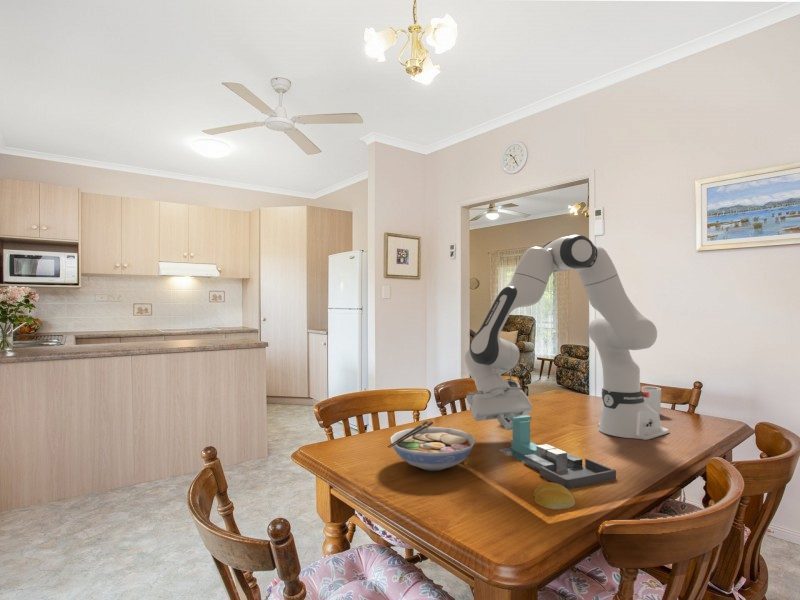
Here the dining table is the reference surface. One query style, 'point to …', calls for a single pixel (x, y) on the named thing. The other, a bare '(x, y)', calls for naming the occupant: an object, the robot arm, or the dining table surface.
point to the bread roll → (553, 496)
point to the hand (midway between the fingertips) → (511, 428)
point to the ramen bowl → (432, 446)
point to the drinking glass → (653, 398)
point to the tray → (580, 475)
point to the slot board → (542, 460)
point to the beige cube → (543, 450)
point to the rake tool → (522, 436)
